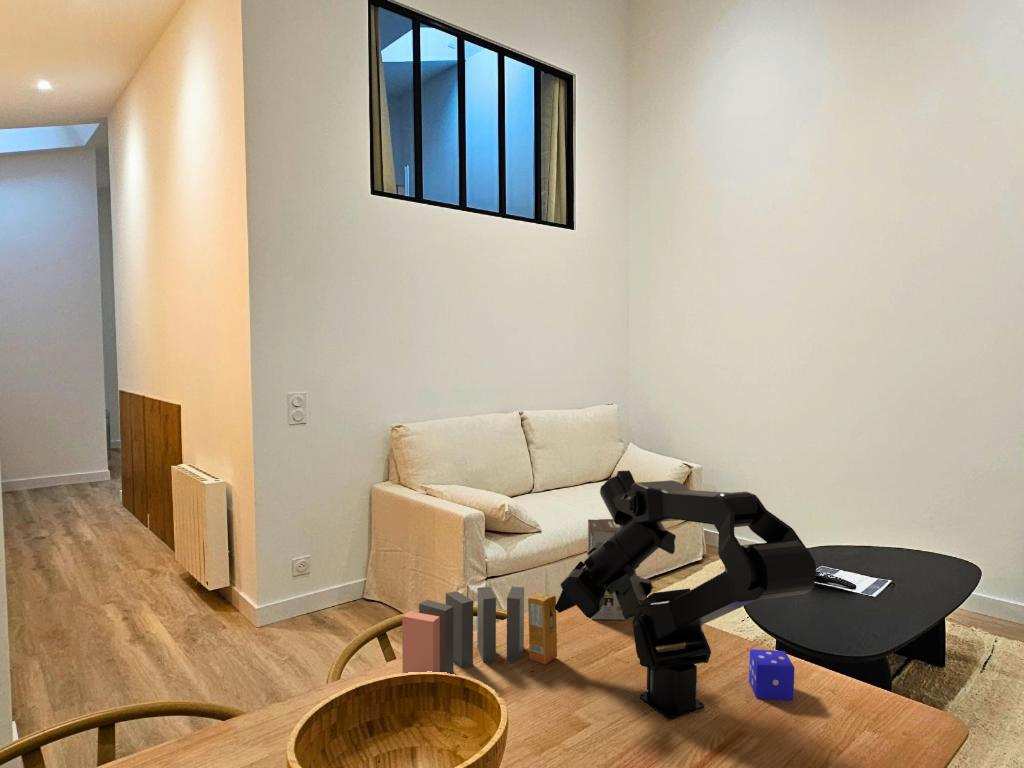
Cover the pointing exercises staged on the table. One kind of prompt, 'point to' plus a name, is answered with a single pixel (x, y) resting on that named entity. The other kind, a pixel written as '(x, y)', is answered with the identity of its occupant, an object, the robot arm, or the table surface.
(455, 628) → the domino
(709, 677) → the table surface
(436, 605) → the domino
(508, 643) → the domino
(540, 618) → the supplement box
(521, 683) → the table surface
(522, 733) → the table surface
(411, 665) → the domino
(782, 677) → the die
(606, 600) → the coffee box
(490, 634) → the domino
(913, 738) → the table surface
